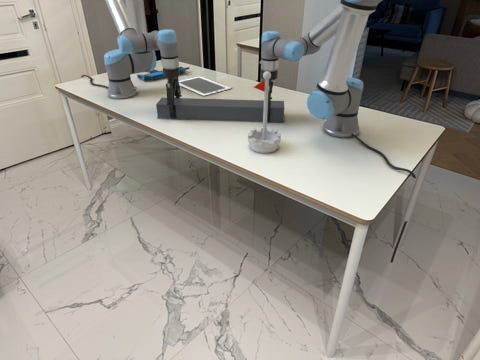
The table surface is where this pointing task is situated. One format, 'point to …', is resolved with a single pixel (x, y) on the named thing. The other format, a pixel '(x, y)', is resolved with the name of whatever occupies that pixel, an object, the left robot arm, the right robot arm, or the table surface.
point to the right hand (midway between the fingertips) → (267, 116)
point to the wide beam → (221, 109)
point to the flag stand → (264, 125)
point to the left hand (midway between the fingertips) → (176, 114)
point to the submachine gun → (157, 74)
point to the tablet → (202, 86)
